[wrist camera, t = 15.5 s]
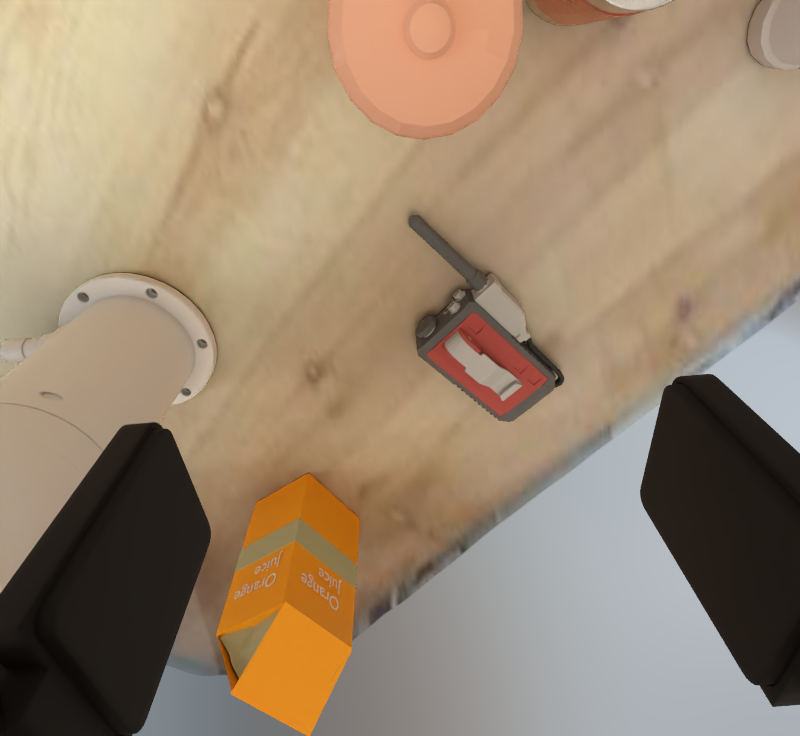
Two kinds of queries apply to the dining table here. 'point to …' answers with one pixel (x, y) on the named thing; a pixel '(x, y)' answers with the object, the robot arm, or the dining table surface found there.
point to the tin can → (589, 9)
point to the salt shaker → (424, 59)
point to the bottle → (776, 34)
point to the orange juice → (292, 603)
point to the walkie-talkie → (484, 341)
